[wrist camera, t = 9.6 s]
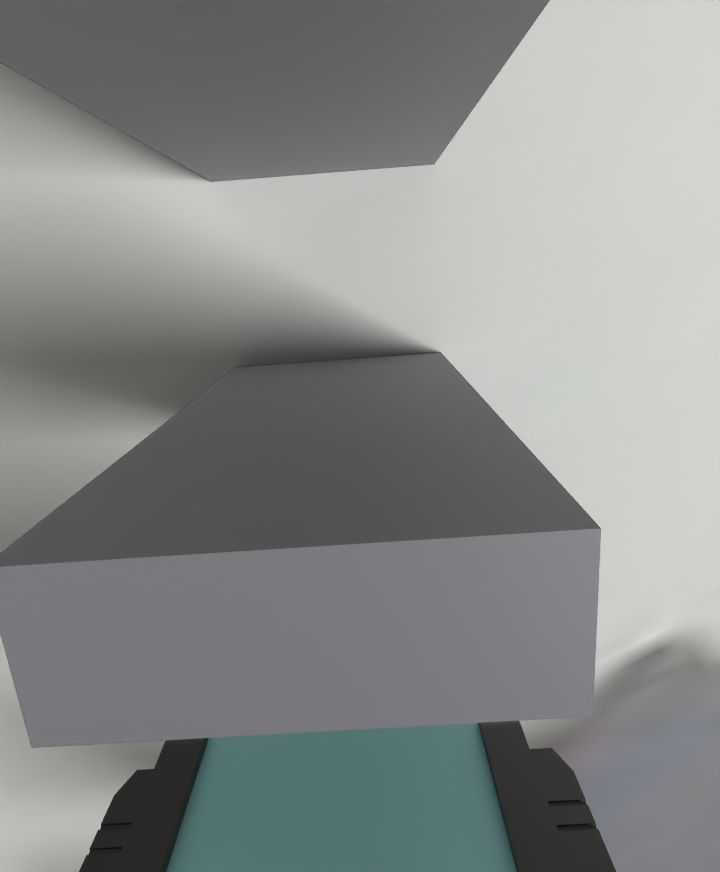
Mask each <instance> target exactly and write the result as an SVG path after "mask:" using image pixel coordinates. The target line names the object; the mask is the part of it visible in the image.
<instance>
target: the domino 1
mask: <svg viewBox="0 0 720 872" xmlns="http://www.w3.org/2000/svg"><path fill="white" fill-rule="evenodd" d="M549 1H550V0H0V63H2V64H4V65H5V66H7V67H9V68H11V69H12V70H14V71H16V72H18V73H19V74H21V75H23V76H25V77H27V78H28V79H30V80H32V81H34V82H35V83H37V84H39V85H41V86H43V87H44V88H46V89H48V90H50V91H51V92H53V93H55V94H57V95H58V96H60V97H62V98H64V99H66V100H67V101H69V102H71V103H73V104H74V105H76V106H78V107H80V108H82V109H83V110H85V111H87V112H89V113H90V114H92V115H94V116H96V117H97V118H99V119H101V120H103V121H105V122H106V123H108V124H110V125H112V126H113V127H115V128H117V129H119V130H121V131H122V132H124V133H126V134H128V135H129V136H131V137H133V138H135V139H136V140H138V141H140V142H142V143H144V144H145V145H147V146H149V147H151V148H152V149H154V150H156V151H158V152H160V153H161V154H163V155H165V156H167V157H168V158H170V159H172V160H174V161H175V162H177V163H179V164H181V165H183V166H184V167H186V168H188V169H190V170H191V171H193V172H195V173H197V174H199V175H200V176H202V177H204V178H206V179H207V180H209V181H211V182H214V181H227V180H240V179H253V178H265V177H278V176H291V175H304V174H316V173H329V172H342V171H354V170H367V169H380V168H393V167H405V166H418V165H431V164H435V162H436V161H437V159H438V158H439V157H440V155H441V154H442V152H443V151H444V150H445V148H446V147H447V145H448V144H449V142H450V141H451V140H452V138H453V137H454V135H455V134H456V133H457V131H458V130H459V128H460V127H461V125H462V124H463V123H464V121H465V120H466V118H467V117H468V115H469V114H470V113H471V111H472V110H473V108H474V107H475V106H476V104H477V103H478V101H479V100H480V98H481V97H482V96H483V94H484V93H485V91H486V90H487V89H488V87H489V86H490V84H491V83H492V81H493V80H494V79H495V77H496V76H497V74H498V73H499V72H500V70H501V69H502V67H503V66H504V64H505V63H506V62H507V60H508V59H509V57H510V56H511V54H512V53H513V52H514V50H515V49H516V47H517V46H518V45H519V43H520V42H521V40H522V39H523V37H524V36H525V35H526V33H527V32H528V30H529V29H530V28H531V26H532V25H533V23H534V22H535V20H536V19H537V18H538V16H539V15H540V13H541V12H542V11H543V9H544V8H545V6H546V5H547V3H548V2H549Z"/></svg>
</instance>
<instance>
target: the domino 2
mask: <svg viewBox="0 0 720 872" xmlns="http://www.w3.org/2000/svg"><path fill="white" fill-rule="evenodd" d="M600 538H601V528H600V527H599V526H598V525H597V524H596V522H595V521H594V520H593V519H592V518H591V517H590V516H589V515H588V514H587V513H586V511H585V510H584V509H583V508H582V507H581V506H580V505H579V504H578V503H577V502H576V500H575V499H574V498H573V497H572V496H571V495H570V494H569V493H568V492H567V491H566V489H565V488H564V487H563V486H562V485H561V484H560V483H559V482H558V481H557V480H556V478H555V477H554V476H553V475H552V474H551V473H550V472H549V471H548V470H547V469H546V467H545V466H544V465H543V464H542V463H541V462H540V461H539V460H538V459H537V458H536V456H535V455H534V454H533V453H532V452H531V451H530V450H529V449H528V448H527V447H526V445H525V444H524V443H523V442H522V441H521V440H520V439H519V438H518V437H517V436H516V434H515V433H514V432H513V431H512V430H511V429H510V428H509V427H508V426H507V425H506V424H505V422H504V421H503V420H502V419H501V418H500V417H499V416H498V415H497V414H496V413H495V411H494V410H493V409H492V408H491V407H490V406H489V405H488V404H487V403H486V402H485V400H484V399H483V398H482V397H481V396H480V395H479V394H478V393H477V392H476V391H475V389H474V388H473V387H472V386H471V385H470V384H469V383H468V382H467V381H466V380H465V378H464V377H463V376H462V375H461V374H460V373H459V372H458V371H457V370H456V369H455V367H454V366H453V365H452V364H451V363H450V362H449V361H448V360H447V359H446V358H445V356H444V355H443V354H442V353H441V352H438V353H424V354H410V355H396V356H382V357H368V358H354V359H340V360H325V361H311V362H297V363H283V364H269V365H255V366H241V367H235V368H234V369H232V370H231V371H230V372H229V373H227V374H226V375H225V376H224V377H222V378H221V379H220V380H219V381H217V382H216V383H215V384H213V385H212V386H211V387H210V388H208V389H207V390H206V391H205V392H203V393H202V394H201V395H200V396H198V397H197V398H196V399H195V400H193V401H192V402H191V403H189V404H188V405H187V406H186V407H184V408H183V409H182V410H181V411H179V412H178V413H177V414H176V415H174V416H173V417H172V418H171V419H169V420H168V421H167V422H165V423H164V424H163V425H162V426H160V427H159V428H158V429H157V430H155V431H154V432H153V433H152V434H150V435H149V436H148V437H147V438H145V439H144V440H143V441H142V442H140V443H139V444H138V445H136V446H135V447H134V448H133V449H131V450H130V451H129V452H128V453H126V454H125V455H124V456H123V457H121V458H120V459H119V460H118V461H116V462H115V463H114V464H112V465H111V466H110V467H109V468H107V469H106V470H105V471H104V472H102V473H101V474H100V475H99V476H97V477H96V478H95V479H94V480H92V481H91V482H90V483H89V484H87V485H86V486H85V487H83V488H82V489H81V490H80V491H78V492H77V493H76V494H75V495H73V496H72V497H71V498H70V499H68V500H67V501H66V502H65V503H63V504H62V505H61V506H59V507H58V508H57V509H56V510H54V511H53V512H52V513H51V514H49V515H48V516H47V517H46V518H44V519H43V520H42V521H41V522H39V523H38V524H37V525H35V526H34V527H33V528H32V529H30V530H29V531H28V532H27V533H25V534H24V535H23V536H22V537H20V538H19V539H18V540H17V541H15V542H14V543H13V544H12V545H10V546H9V547H8V548H6V549H5V550H4V551H3V552H1V553H0V635H1V638H2V642H3V645H4V649H5V653H6V656H7V660H8V664H9V667H10V671H11V674H12V678H13V682H14V685H15V689H16V693H17V696H18V700H19V703H20V707H21V711H22V714H23V718H24V722H25V725H26V729H27V732H28V736H29V740H30V743H31V747H32V748H37V747H55V746H73V745H91V744H108V743H126V742H144V741H162V740H180V739H197V738H215V737H233V736H251V735H269V734H287V733H304V732H322V731H340V730H358V729H376V728H393V727H411V726H429V725H447V724H465V723H483V722H500V721H518V720H536V719H554V718H572V717H589V716H593V697H594V675H595V652H596V629H597V607H598V584H599V561H600Z"/></svg>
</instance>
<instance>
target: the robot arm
mask: <svg viewBox="0 0 720 872" xmlns="http://www.w3.org/2000/svg"><path fill="white" fill-rule="evenodd" d="M478 725H479V729H480V733H481V737H482V741H483V745H484V748H485V752H486V756H487V760H488V764H489V768H490V771H491V775H492V779H493V783H494V787H495V791H496V794H497V798H498V802H499V806H500V810H501V814H502V817H503V821H504V825H505V829H506V833H507V837H508V840H509V844H510V848H511V852H512V856H513V860H514V863H515V867H516V871H517V872H616V870H615V868H614V865H613V863H612V861H611V858H610V856H609V854H608V851H607V849H606V847H605V844H604V842H603V840H602V837H601V835H600V833H599V830H598V829H597V828H596V824H595V821H594V818H593V816H592V814H591V811H590V809H589V807H588V805H586V801H585V797H584V795H583V792H582V790H581V788H580V785H579V783H578V781H577V778H576V776H575V774H574V771H573V770H572V769H571V768H570V767H569V766H568V765H567V764H566V763H565V762H564V761H563V760H562V758H561V757H560V756H559V755H558V754H557V753H556V752H555V751H554V750H553V749H552V748H543V749H529V747H528V744H527V741H526V738H525V735H524V733H523V730H522V727H521V724H520V722H519V720H518V721H500V722H483V723H478ZM208 739H209V738H197V739H180V740H166V742H165V744H164V746H163V748H162V751H161V753H160V756H159V758H158V761H157V763H156V766H155V768H154V769H146V770H137V771H136V772H135V773H134V774H133V775H132V776H131V777H130V779H129V780H128V781H127V782H126V783H125V784H124V785H123V786H122V787H121V789H120V790H119V791H118V792H117V793H116V794H115V795H114V797H113V799H112V802H111V804H110V806H109V808H108V810H107V812H106V815H105V817H104V819H103V821H102V823H101V829H100V830H98V832H97V834H96V836H95V838H94V841H93V843H92V845H91V847H90V853H89V855H87V856H86V858H85V860H84V862H83V864H82V867H81V869H80V871H79V872H166V871H167V868H168V865H169V862H170V859H171V855H172V852H173V849H174V846H175V843H176V840H177V837H178V833H179V830H180V827H181V824H182V821H183V818H184V815H185V811H186V808H187V805H188V802H189V799H190V796H191V793H192V789H193V786H194V783H195V780H196V777H197V774H198V771H199V767H200V764H201V761H202V758H203V755H204V752H205V749H206V745H207V742H208Z"/></svg>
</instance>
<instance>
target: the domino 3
mask: <svg viewBox="0 0 720 872" xmlns="http://www.w3.org/2000/svg"><path fill="white" fill-rule="evenodd" d="M166 872H517V871H516V867H515V863H514V860H513V856H512V852H511V848H510V844H509V840H508V837H507V833H506V829H505V825H504V821H503V817H502V814H501V810H500V806H499V802H498V798H497V794H496V791H495V787H494V783H493V779H492V775H491V771H490V768H489V764H488V760H487V756H486V752H485V748H484V745H483V741H482V737H481V733H480V729H479V725H478V723H465V724H447V725H429V726H411V727H393V728H376V729H358V730H340V731H322V732H304V733H287V734H269V735H251V736H233V737H215V738H209V739H208V742H207V745H206V749H205V752H204V755H203V758H202V761H201V764H200V767H199V771H198V774H197V777H196V780H195V783H194V786H193V789H192V793H191V796H190V799H189V802H188V805H187V808H186V811H185V815H184V818H183V821H182V824H181V827H180V830H179V833H178V837H177V840H176V843H175V846H174V849H173V852H172V855H171V859H170V862H169V865H168V868H167V871H166Z"/></svg>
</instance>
